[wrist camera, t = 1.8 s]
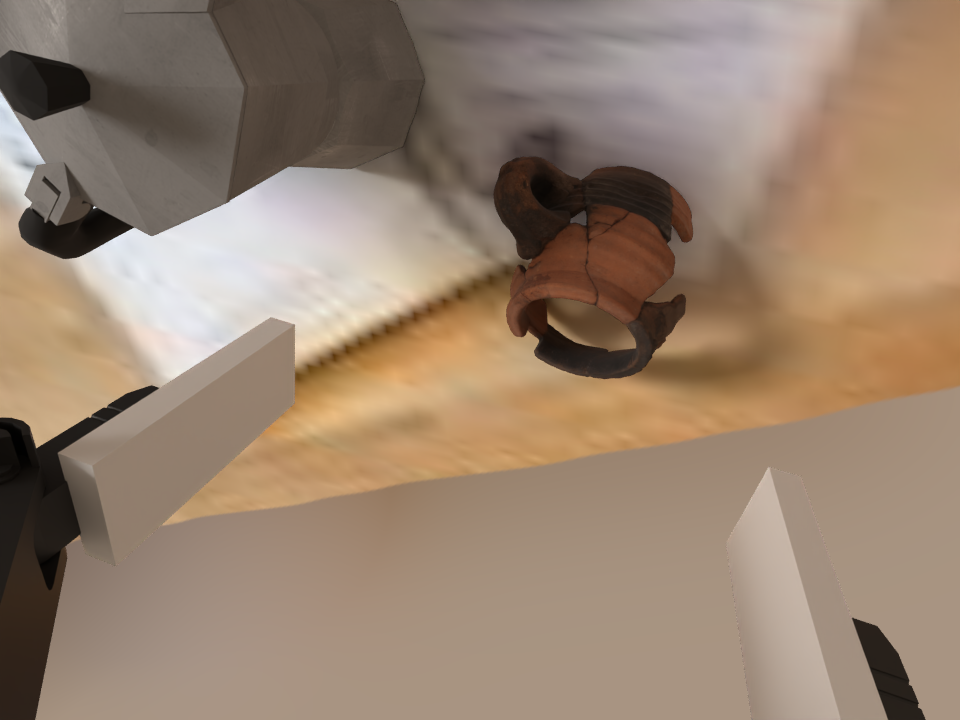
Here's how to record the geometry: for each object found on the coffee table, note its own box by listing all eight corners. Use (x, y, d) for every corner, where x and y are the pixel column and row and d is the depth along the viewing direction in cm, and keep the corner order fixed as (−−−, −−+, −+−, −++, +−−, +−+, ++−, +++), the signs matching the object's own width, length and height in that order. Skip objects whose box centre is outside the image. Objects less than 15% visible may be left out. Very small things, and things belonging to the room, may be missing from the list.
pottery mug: (744, 241, 29) (716, 370, 25) (608, 297, 36) (570, 402, 32) (586, 64, 24) (522, 187, 20) (470, 170, 32) (406, 275, 28)
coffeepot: (354, -117, 26) (-95, -392, 10) (490, 50, 27) (276, 26, 12) (205, 128, 33) (-180, 178, 18) (318, 247, 35) (53, 387, 20)
